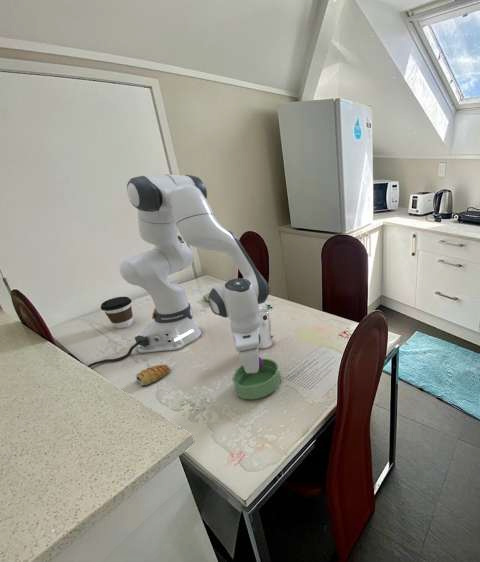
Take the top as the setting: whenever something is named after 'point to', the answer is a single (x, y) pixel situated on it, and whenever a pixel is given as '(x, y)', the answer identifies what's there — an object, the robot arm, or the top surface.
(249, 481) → the top surface
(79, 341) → the top surface
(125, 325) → the coffee cup
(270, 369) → the bowl
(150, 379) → the pastry
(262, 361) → the ball
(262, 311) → the beer glass
